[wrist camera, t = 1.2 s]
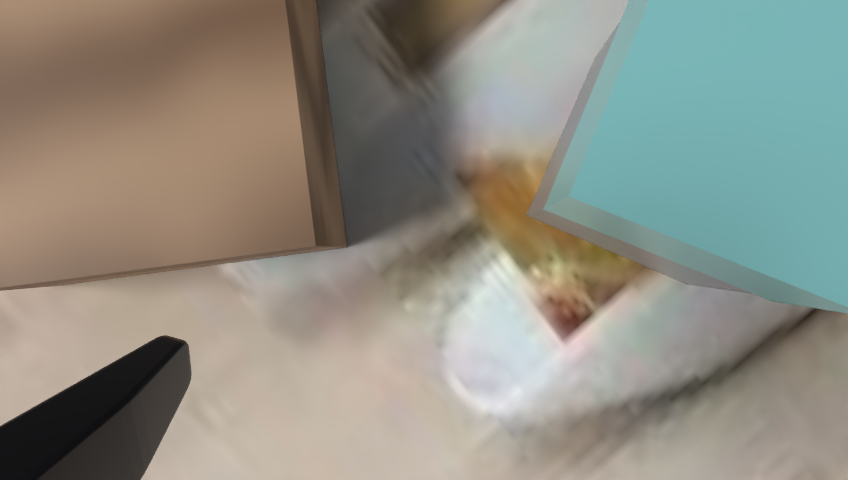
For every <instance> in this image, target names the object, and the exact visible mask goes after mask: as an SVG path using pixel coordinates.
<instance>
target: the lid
mask: <svg viewBox="0 0 848 480" xmlns="http://www.w3.org/2000/svg"><path fill="white" fill-rule="evenodd" d="M544 210H546V211H549V212H551V213H554V214H556V215H559V216H561V217H563V218H566V219H568V220H571V221H573V222H576V223H578V224H581V225H583V226H586V227H588V228H591V229H593V230H596V231H598V232H601V233H603V234H606V235H608V236H611V237H613V238H616V239H618V240H621V241H623V242H626V243H628V244H631V245H633V246H636V247H638V248H641V249H643V250H646V251H648V252H651V253H653V254H656V255H658V256H661V257H663V258H666V259H668V260H671V261H673V262H676V263H678V264H681V265H683V266H686V267H688V268H691V269H693V270H696V271H698V272H701V273H703V274H706V275H708V276H711V277H713V278H716V279H718V280H721V281H723V282H726V283H728V284H731V285H733V286H736V287H738V288H741V289H743V290H746V291H748V292H751V293H753V294H756V295H758V296H761V297H763V298H766V299H768V300H771V301H774V302H781V303H787V304H793V305H799V306H805V307H811V308H817V309H824V310H830V311H836V312H842V313H848V0H629V2H628V5H627V7H626V10H625V12H624V14H623V17H622V19H621V22H620V24H619V27H618V29H617V31H616V34H615V36H614V39H613V41H612V44H611V46H610V48H609V51H608V53H607V56H606V58H605V61H604V63H603V65H602V68H601V70H600V73H599V75H598V78H597V80H596V83H595V85H594V87H593V90H592V92H591V95H590V97H589V100H588V102H587V104H586V107H585V109H584V112H583V114H582V117H581V119H580V121H579V124H578V126H577V129H576V131H575V134H574V136H573V138H572V141H571V143H570V146H569V148H568V151H567V153H566V155H565V158H564V160H563V163H562V165H561V168H560V170H559V173H558V175H557V177H556V180H555V182H554V185H553V187H552V190H551V192H550V194H549V197H548V199H547V202H546V204H545V207H544Z"/></svg>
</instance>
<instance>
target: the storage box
mask: <svg viewBox="0 0 848 480" xmlns="http://www.w3.org/2000/svg"><path fill="white" fill-rule="evenodd" d="M620 22H621V21H620ZM619 24H620V23H619ZM619 24H618V26H617V27H616V29H615V30H614V32H613V33H612V34H611V36H610V37H609V39H608V40H607V42H606V43H605V45H604V46H603V48H602V49H601V50H600V52H599V53H598V55H597V56H596V58H595V59H594V62H593V64H592V66H591V68H590V71H589V73H588V75H587V78H586V80H585V82H584V84H583V87H582V89H581V91H580V94H579V96H578V98H577V100H576V103H575V105H574V107H573V110H572V112H571V114H570V116H569V119H568V121H567V123H566V126H565V128H564V130H563V132H562V135H561V137H560V139H559V142H558V144H557V146H556V148H555V151H554V153H553V155H552V158H551V160H550V162H549V164H548V167H547V169H546V171H545V174H544V176H543V178H542V181H541V183H540V185H539V187H538V190H537V192H536V194H535V197H534V199H533V201H532V203H531V206H530V208H529V210H528V213H527V215H526V216H529V217H531V218H533V219H536V220H538V221H540V222H543V223H545V224H547V225H550V226H552V227H554V228H557V229H559V230H561V231H564V232H566V233H568V234H571V235H573V236H575V237H578V238H580V239H582V240H585V241H587V242H589V243H592V244H594V245H596V246H599V247H601V248H603V249H606V250H608V251H610V252H613V253H615V254H617V255H620V256H622V257H625V258H627V259H629V260H632V261H634V262H636V263H639V264H641V265H643V266H646V267H648V268H650V269H653V270H655V271H657V272H660V273H662V274H664V275H667V276H669V277H671V278H674V279H676V280H678V281H681V282H683V283H685V284H689V285H696V286H703V287H710V288H717V289H724V290H731V291H739V292H746V293H751V292H748V291H746V290H743V289H741V288H738V287H736V286H733V285H731V284H728V283H726V282H723V281H721V280H718V279H716V278H713V277H711V276H708V275H706V274H703V273H701V272H698V271H696V270H693V269H691V268H688V267H686V266H683V265H681V264H678V263H676V262H673V261H671V260H668V259H666V258H663V257H661V256H658V255H656V254H653V253H651V252H648V251H646V250H643V249H641V248H638V247H636V246H633V245H631V244H628V243H626V242H623V241H621V240H618V239H616V238H613V237H611V236H608V235H606V234H603V233H601V232H598V231H596V230H593V229H591V228H588V227H586V226H583V225H581V224H578V223H576V222H573V221H571V220H568V219H566V218H563V217H561V216H559V215H556V214H554V213H551V212H549V211H546V210H544V207H545V204H546V202H547V199H548V197H549V194H550V192H551V190H552V187H553V185H554V182H555V180H556V177H557V175H558V173H559V170H560V168H561V165H562V163H563V160H564V158H565V155H566V153H567V151H568V148H569V146H570V143H571V141H572V138H573V136H574V134H575V131H576V129H577V126H578V124H579V121H580V119H581V117H582V114H583V112H584V109H585V107H586V104H587V102H588V100H589V97H590V95H591V92H592V90H593V87H594V85H595V83H596V80H597V78H598V75H599V73H600V70H601V68H602V65H603V63H604V61H605V58H606V56H607V53H608V51H609V48H610V46H611V44H612V41H613V39H614V36H615V34H616V31H617V29H618V27H619Z"/></svg>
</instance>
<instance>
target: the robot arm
mask: <svg viewBox="0 0 848 480" xmlns="http://www.w3.org/2000/svg"><path fill="white" fill-rule="evenodd" d="M190 380H191V364H190V354H189V346H188V344H187V343H186V341H184V340H181V339H177V338H174V337H170V336H160V337H157V338H155V339H154V340H152V341H150V342H148V343H147V344H145V345H143V346H141V347H139V348H138V349H136V350H134V351H132V352H131V353H129V354H127V355H125V356H123V357H122V358H120V359H118V360H116V361H115V362H113V363H111V364H109V365H108V366H106V367H104V368H102V369H100V370H99V371H97V372H95V373H93V374H92V375H90V376H88V377H86V378H85V379H83V380H81V381H79V382H77V383H76V384H74V385H72V386H70V387H69V388H67V389H65V390H63V391H62V392H60V393H58V394H56V395H54V396H53V397H51V398H49V399H47V400H46V401H44V402H42V403H40V404H38V405H37V406H35V407H33V408H31V409H30V410H28V411H26V412H24V413H23V414H21V415H19V416H17V417H15V418H14V419H12V420H10V421H8V422H7V423H5V424H3V425H1V426H0V480H141V478H142V476H143V475H144V473H145V471H146V469H147V468H148V466H149V464H150V462H151V460H152V458H153V456H154V454H155V452H156V450H157V448H158V446H159V444H160V442H161V440H162V438H163V436H164V434H165V432H166V430H167V428H168V426H169V424H170V423H171V421H172V419H173V417H174V415H175V413H176V411H177V409H178V407H179V405H180V403H181V401H182V399H183V397H184V395H185V393H186V391H187V389H188V387H189V384H190Z"/></svg>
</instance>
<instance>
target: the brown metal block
mask: <svg viewBox="0 0 848 480" xmlns="http://www.w3.org/2000/svg"><path fill="white" fill-rule="evenodd" d="M346 247H347V240H346V232H345V224H344V216H343V208H342V200H341V192H340V184H339V177H338V169H337V161H336V153H335V145H334V137H333V129H332V121H331V113H330V105H329V97H328V89H327V81H326V73H325V65H324V57H323V49H322V42H321V34H320V26H319V18H318V10H317V2H316V0H0V291H1V290H13V289H25V288H37V287H49V286H58V285H65V284H73V283H81V282H88V281H96V280H103V279H111V278H119V277H126V276H134V275H141V274H149V273H156V272H164V271H172V270H179V269H187V268H194V267H202V266H210V265H217V264H225V263H232V262H240V261H248V260H255V259H263V258H270V257H278V256H286V255H293V254H301V253H308V252H316V251H324V250H331V249H339V248H346Z"/></svg>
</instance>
